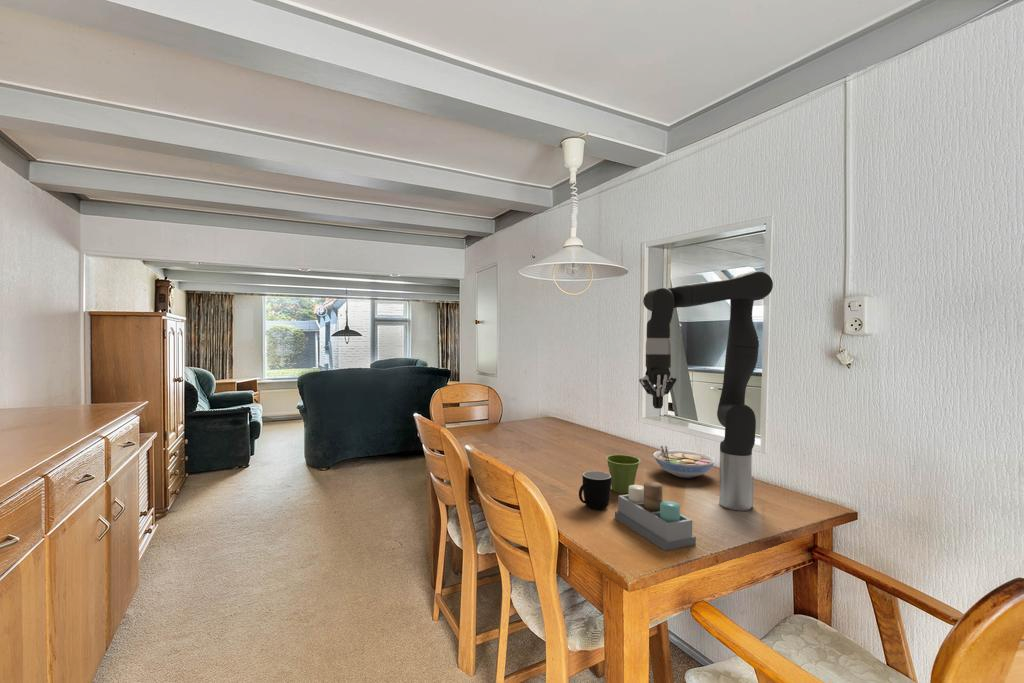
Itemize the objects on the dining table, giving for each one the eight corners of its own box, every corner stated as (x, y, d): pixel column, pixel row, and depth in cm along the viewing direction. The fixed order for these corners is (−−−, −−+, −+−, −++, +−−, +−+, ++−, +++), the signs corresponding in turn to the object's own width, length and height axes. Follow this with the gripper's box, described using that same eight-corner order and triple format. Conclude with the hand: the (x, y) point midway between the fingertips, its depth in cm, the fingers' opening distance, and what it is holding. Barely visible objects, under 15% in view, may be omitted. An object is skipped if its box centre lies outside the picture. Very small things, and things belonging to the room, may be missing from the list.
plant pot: (603, 494, 154) (603, 461, 154) (607, 483, 166) (607, 453, 165) (639, 498, 151) (639, 465, 150) (641, 487, 162) (641, 456, 162)
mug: (596, 499, 149) (596, 469, 149) (616, 508, 142) (617, 476, 142) (569, 507, 142) (569, 475, 142) (589, 516, 135) (590, 483, 135)
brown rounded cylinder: (654, 503, 129) (654, 481, 129) (666, 510, 125) (666, 486, 125) (639, 506, 127) (640, 483, 127) (651, 512, 123) (651, 488, 123)
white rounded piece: (638, 505, 136) (639, 484, 136) (649, 511, 131) (649, 489, 131) (625, 507, 134) (625, 485, 134) (635, 513, 129) (635, 491, 129)
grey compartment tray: (642, 513, 138) (642, 492, 138) (695, 544, 118) (696, 519, 118) (614, 517, 135) (615, 496, 134) (664, 550, 114) (664, 525, 114)
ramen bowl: (720, 488, 161) (720, 465, 161) (653, 482, 168) (653, 460, 168) (710, 469, 185) (710, 449, 185) (652, 464, 192) (652, 445, 192)
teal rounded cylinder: (670, 523, 123) (671, 499, 123) (684, 531, 118) (684, 506, 118) (655, 526, 121) (656, 502, 121) (668, 534, 116) (668, 508, 116)
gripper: (667, 352, 146) (666, 405, 147) (633, 352, 142) (632, 407, 142) (683, 352, 139) (683, 408, 140) (648, 353, 135) (648, 411, 135)
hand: (657, 408), depth 141 cm, fingers closed
